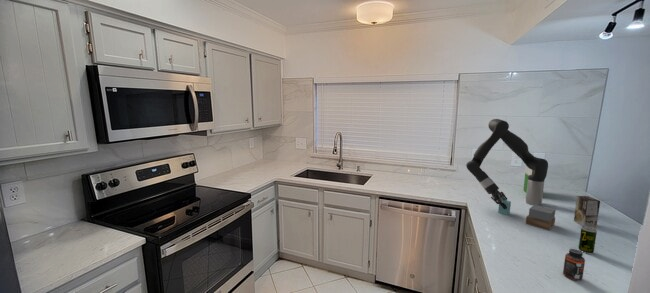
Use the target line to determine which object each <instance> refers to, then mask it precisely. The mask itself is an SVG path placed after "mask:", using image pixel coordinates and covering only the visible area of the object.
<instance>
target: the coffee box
mask: <svg viewBox="0 0 650 293" xmlns="http://www.w3.org/2000/svg"><path fill="white" fill-rule="evenodd" d="M600 205H601V200H599V199H596V198H593V197H592V196H589V195H588V196H587V195H581V196H580V195H576V201H575V209H574V217H573V222H575V223H577V224H579V225H580V226H581V227H582V226H591V227H594V228H596V229H597V227H598V220H599V213H600Z"/></svg>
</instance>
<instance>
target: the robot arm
mask: <svg viewBox="0 0 650 293" xmlns="http://www.w3.org/2000/svg"><path fill="white" fill-rule="evenodd" d="M509 128H510V124H509V123H508V122H507V121H506V120H503V119H500V118H493V119H491V120H490V121H489V122H488V129H489V130H490V131H491V132H492V134H491V135H490V136H489V137H488V138H487V139H486V140H484V141H483V142H482V143H481V144H480V145H479V146H478V148H477V149H476V150H475V152H474V154H473V157H472V159H471V160H470V161H468V162H466V165H465V166H466V169H467V170H468V171H469V173H471V175H473V176H474V177H475V179H476V180H477V182H479V184H480V186H481V187H482V188H483V189H484V191H485V192H486V193H487V194H488V195H491V196H490V198H491V200H493V202H494V203H496V205H498V206H499V205H501V206H502V207H503V209H507V206H506V205H505V204H504V203H503V201H502V200H507V201H508V198H507V196H506V194H505V193H504V192H503V191H500V190H499V189H500V187H499V186H498V185H497V184H496V183H495V181H494V180H493V179H492V178H491V177H490V176H489V175H488V174H487V173H486V172H485V171H484V170H483V169H482V168H481V165H482V163H483V161H484V160H485V158H486V157H487V156H488V154H489V153H490V151H491V150H492V149H493V147H494V146H495V145H496V144H497V143H498V141H499V140H502V142H503V143H504V144H505V145H506V146H507V147H508V148H509V149H510V150H511V151H512V152H513V153H514V154H515V155H517V157H518V158H520V159H521V161H522V162H523V163H524V164H525V167H526V166H527V167H528V168H529V169H531V170H535V172H534V174H533V175H529V176H528V184H527V193H525V194H526V195H525V203H526V204H528V205H532V206H533V205H538V206H542V205H543V204H542V203H543V197H544V189H545V180H546V178H547V174H548V169H549V163H548V160H547V159H545V158H540V157H537V156H534V155H533V154H532V153H531V152H530V151H529V146H528V144H527V143H526V142H525V140H523V139H522V138H521V137H520V136H518V135H516V134H515V133H514V132H512V131H511V130H509Z"/></svg>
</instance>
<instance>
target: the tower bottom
mask: <svg viewBox="0 0 650 293" xmlns="http://www.w3.org/2000/svg"><path fill="white" fill-rule="evenodd" d="M555 222H556V217H555V218H554V219H553V220H552V221H551V222H548V221H544V220H540V219H536V218H532V217H529V214H527V215H526V217H525V225H527V226H528V225H529V226H530V227H531V226H533V227H535V228H538V229H543V230H546V231H551V229H552V228H553V227H554V226H555V224H556V223H555Z"/></svg>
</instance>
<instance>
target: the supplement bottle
mask: <svg viewBox="0 0 650 293" xmlns="http://www.w3.org/2000/svg"><path fill="white" fill-rule="evenodd" d="M583 253H584V252H581V251H580V250H579V249H575V248H570V249H569V251H568V252H566V254H565V256H564V262H563V270H562V274H563V275H564V276H565V277H566V278H568V279H570V280H573V281H577V280H579V281H582V280H583V277H584V269H585V264H586V259H585V257H583Z"/></svg>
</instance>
